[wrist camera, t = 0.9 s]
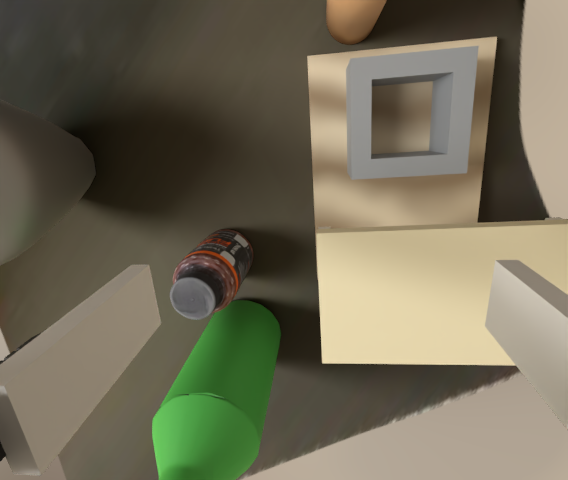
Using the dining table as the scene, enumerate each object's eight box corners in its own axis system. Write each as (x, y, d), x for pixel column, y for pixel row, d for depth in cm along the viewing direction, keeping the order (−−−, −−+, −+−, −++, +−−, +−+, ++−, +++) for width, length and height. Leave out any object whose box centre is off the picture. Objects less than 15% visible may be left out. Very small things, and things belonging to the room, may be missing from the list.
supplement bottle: (241, 220, 37) (209, 256, 26) (262, 267, 39) (240, 319, 28) (195, 237, 38) (146, 279, 28) (216, 282, 40) (178, 338, 29)
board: (307, 58, 32) (307, 56, 30) (490, 40, 30) (497, 36, 28) (317, 274, 38) (317, 279, 37) (467, 271, 36) (471, 275, 35)
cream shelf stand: (318, 193, 34) (316, 233, 21) (475, 185, 32) (582, 223, 19) (322, 279, 37) (322, 363, 24) (466, 276, 35) (553, 365, 22)
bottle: (198, 330, 42) (42, 583, 19) (238, 282, 40) (115, 508, 16) (254, 370, 43) (172, 659, 20) (296, 326, 41) (261, 600, 17)
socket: (345, 69, 30) (350, 58, 26) (453, 59, 29) (478, 45, 25) (347, 172, 33) (351, 179, 28) (445, 166, 32) (466, 173, 27)
